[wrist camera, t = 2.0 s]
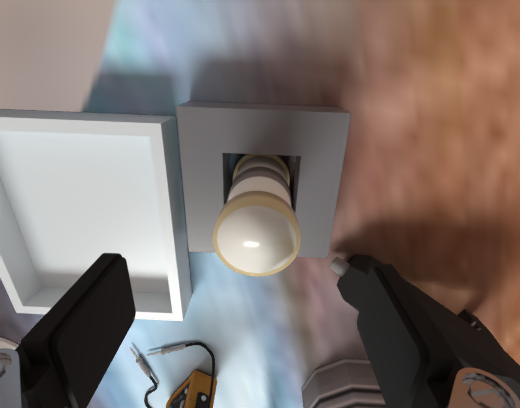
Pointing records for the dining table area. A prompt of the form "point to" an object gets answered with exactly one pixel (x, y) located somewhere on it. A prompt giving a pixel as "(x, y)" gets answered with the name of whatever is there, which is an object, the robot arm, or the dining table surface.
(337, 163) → the grey flat square block
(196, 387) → the multimeter
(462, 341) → the gun
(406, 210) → the dining table surface
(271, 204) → the cylinder
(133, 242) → the parts tray
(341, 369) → the can
